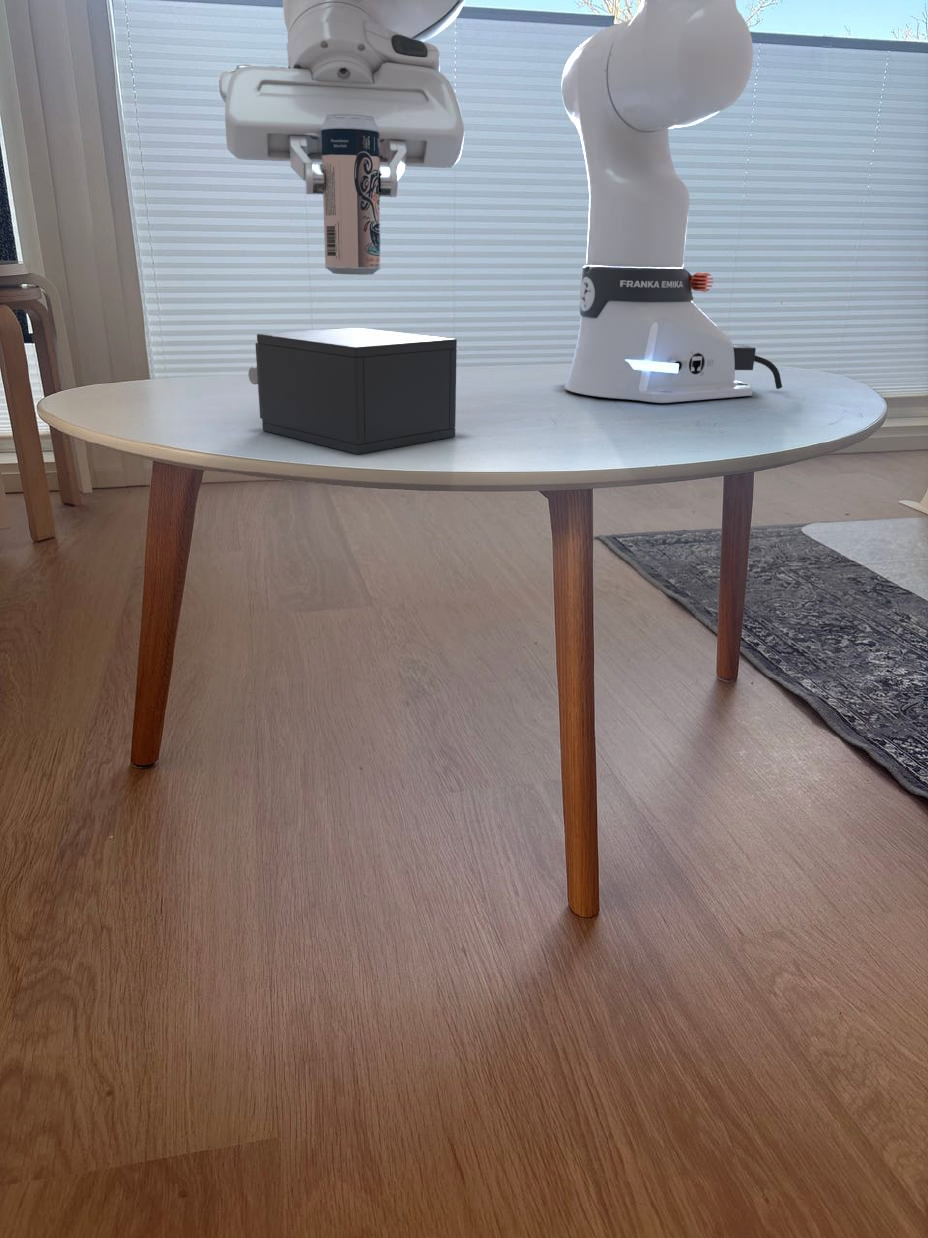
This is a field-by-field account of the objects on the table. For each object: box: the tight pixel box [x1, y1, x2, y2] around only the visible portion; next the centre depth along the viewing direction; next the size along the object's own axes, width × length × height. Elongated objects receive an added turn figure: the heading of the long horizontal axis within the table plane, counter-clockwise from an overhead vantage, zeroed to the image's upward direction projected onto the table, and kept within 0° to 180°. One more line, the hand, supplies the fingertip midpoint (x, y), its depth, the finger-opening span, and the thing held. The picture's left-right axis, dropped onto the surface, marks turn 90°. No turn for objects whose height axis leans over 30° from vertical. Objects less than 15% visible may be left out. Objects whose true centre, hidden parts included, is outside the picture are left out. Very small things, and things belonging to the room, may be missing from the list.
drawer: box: [247, 342, 262, 420], centre depth 86 cm, size 16×10×7 cm, turn 46°
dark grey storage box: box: [256, 327, 458, 455], centre depth 84 cm, size 14×12×9 cm
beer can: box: [321, 114, 382, 276], centre depth 78 cm, size 5×5×12 cm
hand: (352, 189), depth 77 cm, fingers closed on beer can, 5 cm apart
